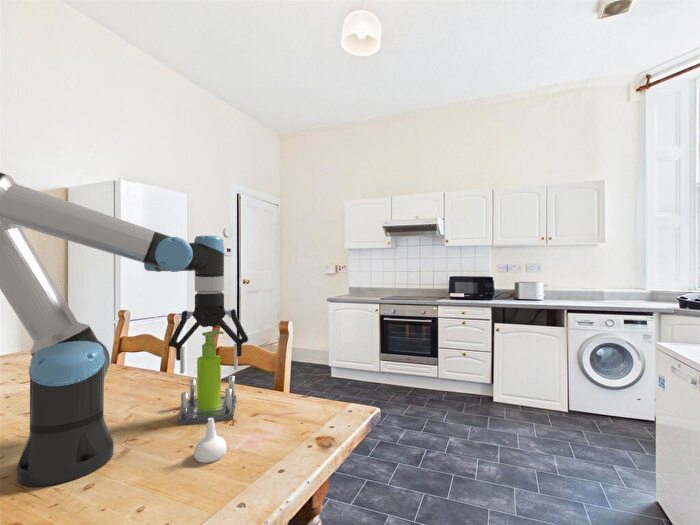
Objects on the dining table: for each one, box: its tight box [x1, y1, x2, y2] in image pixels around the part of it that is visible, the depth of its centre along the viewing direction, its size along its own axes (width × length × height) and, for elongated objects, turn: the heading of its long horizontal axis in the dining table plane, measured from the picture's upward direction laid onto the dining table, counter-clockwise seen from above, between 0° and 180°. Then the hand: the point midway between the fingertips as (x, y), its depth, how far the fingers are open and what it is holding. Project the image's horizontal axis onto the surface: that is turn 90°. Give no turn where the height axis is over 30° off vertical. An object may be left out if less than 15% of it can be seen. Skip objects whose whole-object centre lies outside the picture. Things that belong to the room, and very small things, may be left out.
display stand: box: [177, 375, 237, 426], centre depth 98 cm, size 14×13×8 cm
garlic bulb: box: [193, 418, 227, 464], centre depth 75 cm, size 6×6×8 cm
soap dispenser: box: [196, 330, 225, 410], centre depth 98 cm, size 6×7×20 cm
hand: (209, 370), depth 98 cm, fingers open, 13 cm apart
